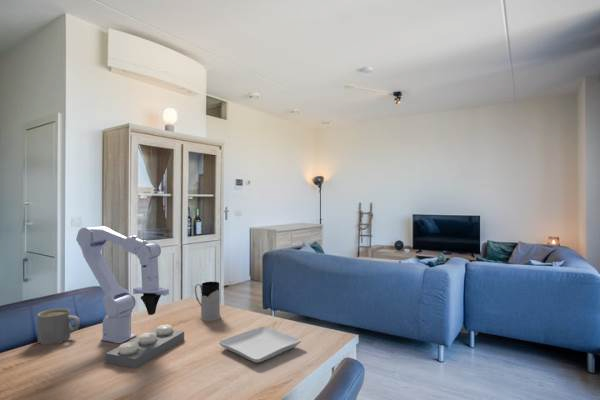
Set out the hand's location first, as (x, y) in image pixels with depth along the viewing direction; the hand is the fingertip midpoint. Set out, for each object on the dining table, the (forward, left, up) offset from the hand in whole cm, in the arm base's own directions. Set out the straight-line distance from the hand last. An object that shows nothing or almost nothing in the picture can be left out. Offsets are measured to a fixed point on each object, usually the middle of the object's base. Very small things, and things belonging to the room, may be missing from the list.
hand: (151, 314), depth 132 cm
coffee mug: (-35, -9, -11) cm, 37 cm away
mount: (+3, -6, -10) cm, 12 cm away
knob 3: (+3, +3, -11) cm, 11 cm away
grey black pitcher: (+2, +31, -11) cm, 33 cm away
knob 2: (+3, -6, -11) cm, 12 cm away
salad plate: (+39, +8, -11) cm, 42 cm away
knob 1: (+3, -14, -11) cm, 18 cm away
